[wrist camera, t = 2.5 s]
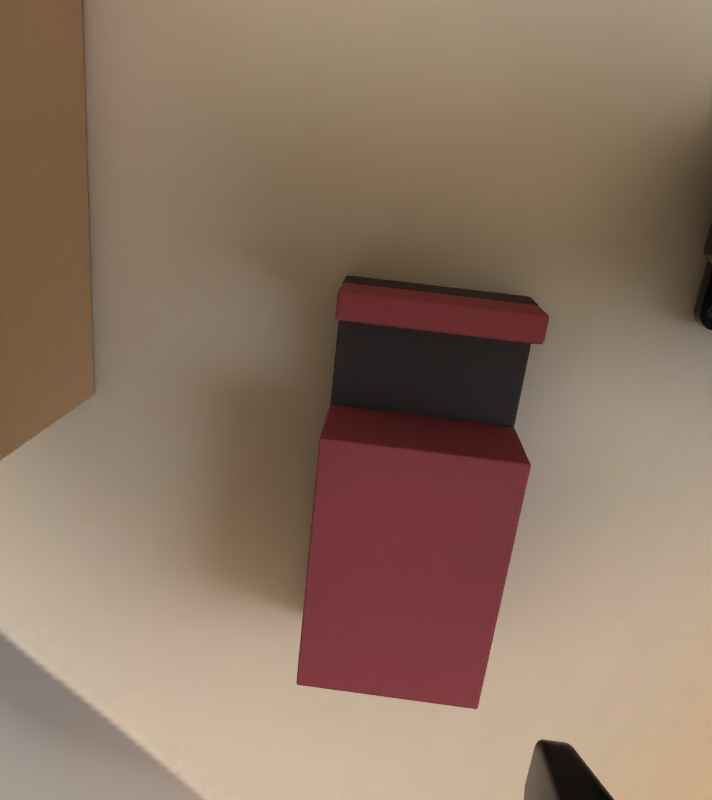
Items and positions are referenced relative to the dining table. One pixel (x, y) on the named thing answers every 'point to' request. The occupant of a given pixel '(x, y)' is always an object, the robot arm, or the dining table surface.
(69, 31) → the shoebox
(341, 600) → the dark red two-tone block
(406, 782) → the dining table surface
